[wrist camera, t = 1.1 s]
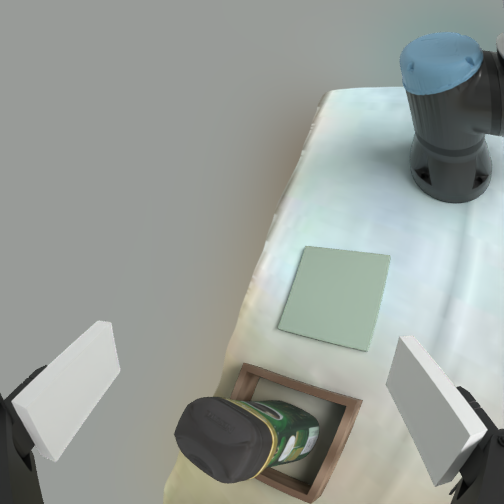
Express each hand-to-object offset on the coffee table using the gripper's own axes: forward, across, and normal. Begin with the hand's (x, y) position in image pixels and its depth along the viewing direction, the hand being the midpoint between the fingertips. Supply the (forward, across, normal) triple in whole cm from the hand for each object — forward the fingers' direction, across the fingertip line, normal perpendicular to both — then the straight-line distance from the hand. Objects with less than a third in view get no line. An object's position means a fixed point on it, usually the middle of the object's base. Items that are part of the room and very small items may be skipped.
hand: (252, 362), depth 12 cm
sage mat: (+30, +11, -8) cm, 33 cm away
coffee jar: (+19, +5, -25) cm, 32 cm away
